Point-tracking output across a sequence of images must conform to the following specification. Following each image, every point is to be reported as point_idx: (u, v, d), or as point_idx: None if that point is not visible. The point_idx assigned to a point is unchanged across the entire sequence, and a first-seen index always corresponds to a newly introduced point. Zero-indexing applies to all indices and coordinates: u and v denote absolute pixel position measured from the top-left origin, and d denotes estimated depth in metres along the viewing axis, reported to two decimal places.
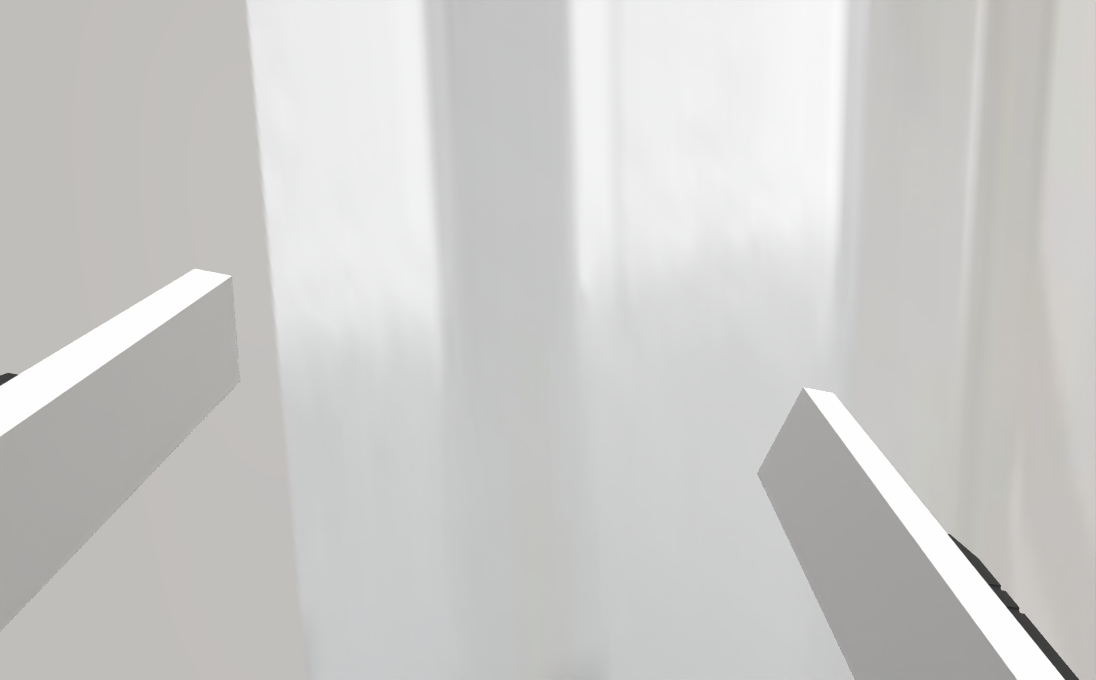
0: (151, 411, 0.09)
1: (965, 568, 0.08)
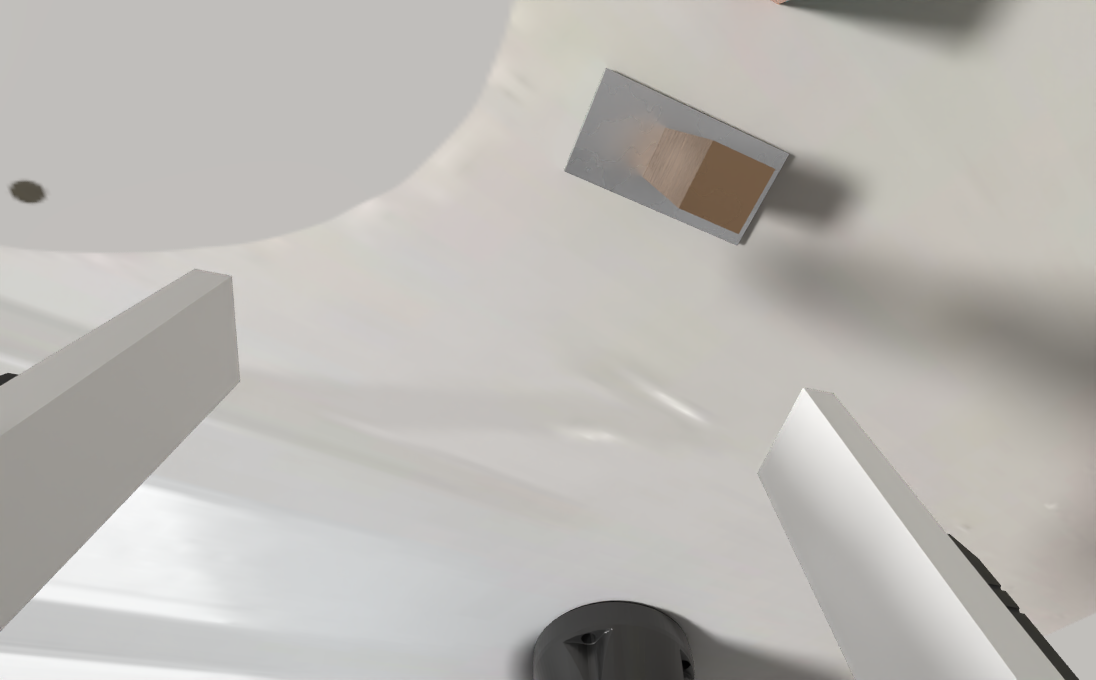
0: (151, 411, 0.09)
1: (965, 568, 0.08)
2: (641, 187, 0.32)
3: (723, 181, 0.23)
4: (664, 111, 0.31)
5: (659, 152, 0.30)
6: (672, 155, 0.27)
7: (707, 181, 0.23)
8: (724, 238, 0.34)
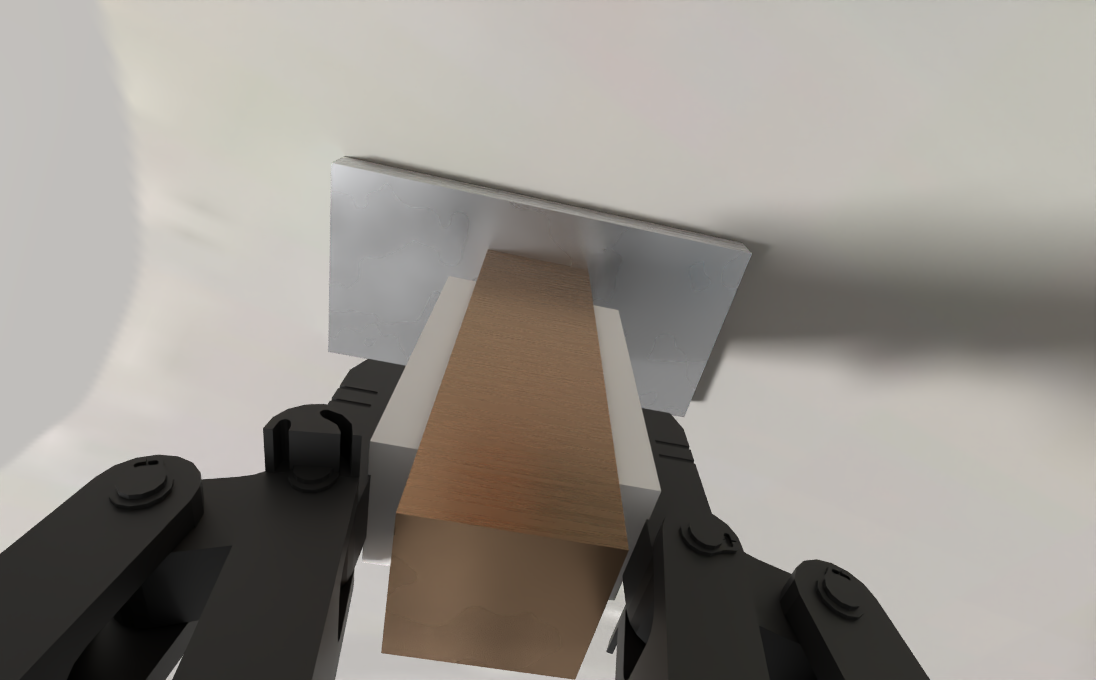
0: None
1: (634, 420, 0.10)
2: None
3: (479, 593, 0.07)
4: (476, 221, 0.15)
5: None
6: None
7: (431, 598, 0.07)
8: (657, 409, 0.18)
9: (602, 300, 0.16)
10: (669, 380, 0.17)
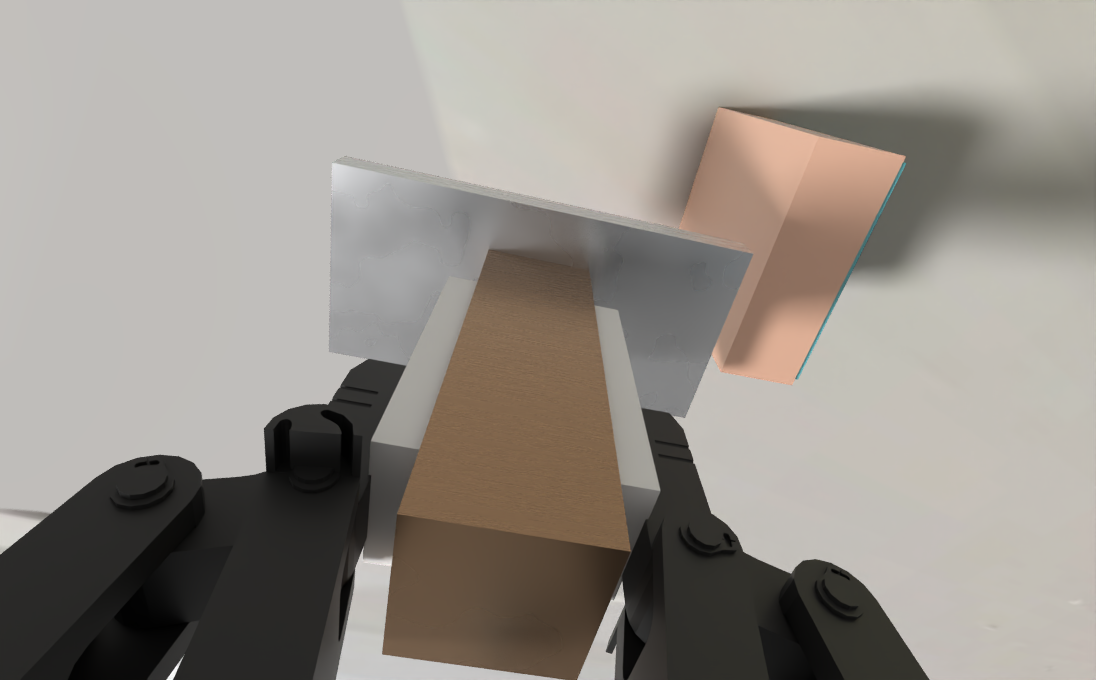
0: None
1: (634, 420, 0.10)
2: None
3: (480, 594, 0.07)
4: (477, 222, 0.15)
5: None
6: None
7: (432, 599, 0.07)
8: (658, 410, 0.18)
9: (603, 300, 0.16)
10: (670, 380, 0.17)
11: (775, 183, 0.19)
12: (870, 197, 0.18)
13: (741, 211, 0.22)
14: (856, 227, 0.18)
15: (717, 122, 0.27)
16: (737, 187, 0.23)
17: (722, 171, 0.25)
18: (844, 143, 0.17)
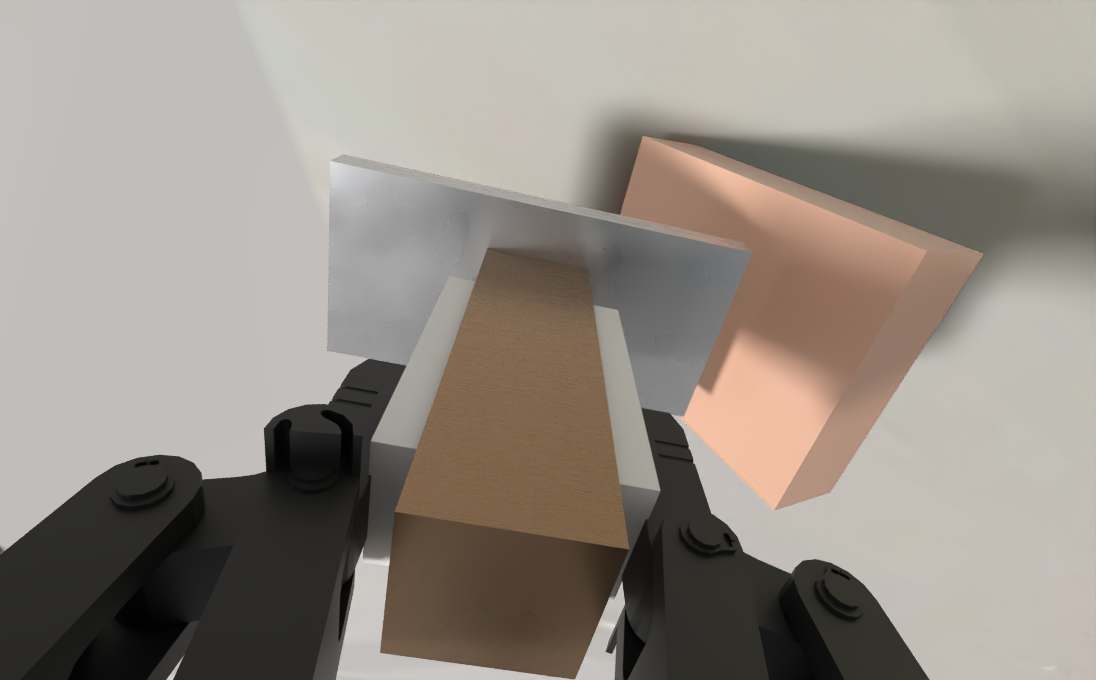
0: None
1: (634, 420, 0.10)
2: None
3: (478, 592, 0.07)
4: (476, 220, 0.15)
5: None
6: None
7: (430, 597, 0.07)
8: (657, 409, 0.18)
9: (602, 299, 0.16)
10: (668, 379, 0.17)
11: (830, 288, 0.15)
12: (944, 301, 0.15)
13: (753, 302, 0.17)
14: (925, 333, 0.15)
15: (646, 157, 0.22)
16: None
17: None
18: (944, 252, 0.13)
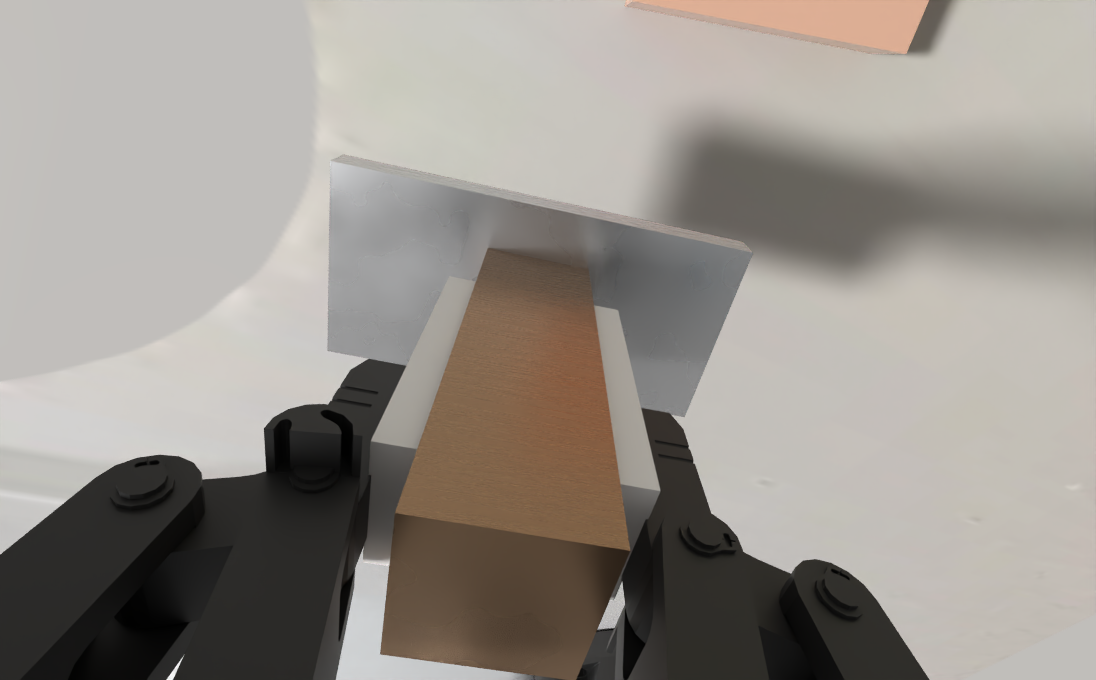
0: None
1: (634, 420, 0.10)
2: None
3: (479, 595, 0.07)
4: (476, 220, 0.15)
5: None
6: None
7: (430, 599, 0.07)
8: (657, 409, 0.18)
9: (602, 299, 0.16)
10: (669, 379, 0.17)
11: None
12: None
13: None
14: None
15: None
16: None
17: None
18: None
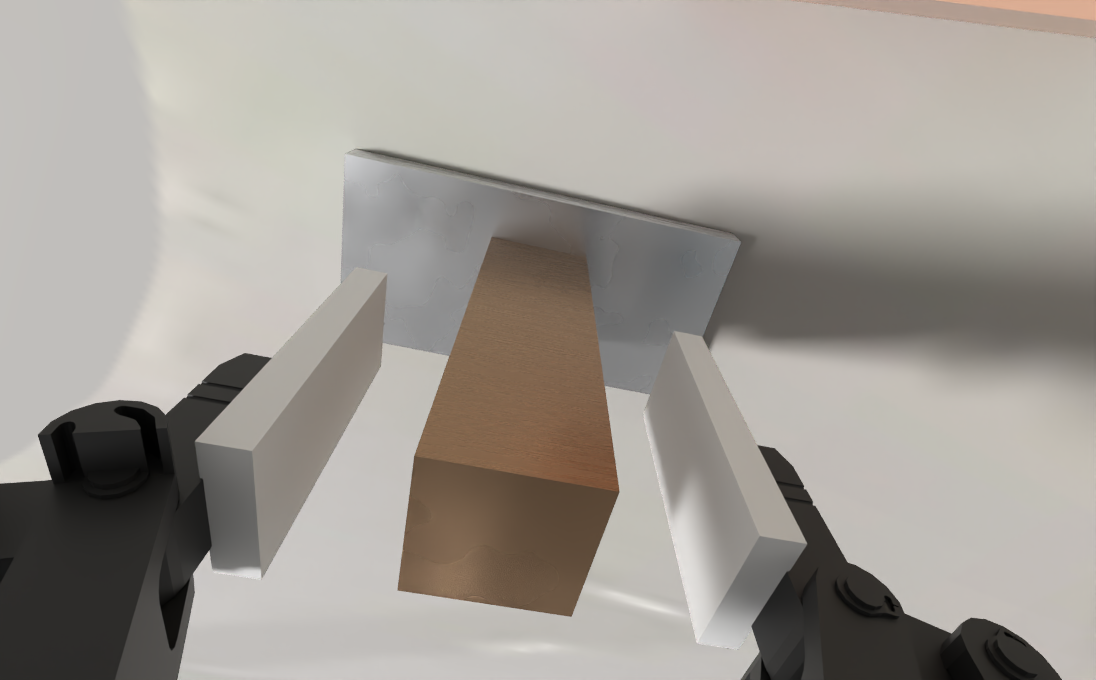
0: (344, 387, 0.11)
1: (756, 462, 0.09)
2: None
3: (486, 533, 0.08)
4: (481, 211, 0.16)
5: None
6: None
7: (443, 537, 0.08)
8: None
9: (599, 286, 0.17)
10: None
11: None
12: None
13: None
14: None
15: None
16: None
17: None
18: None
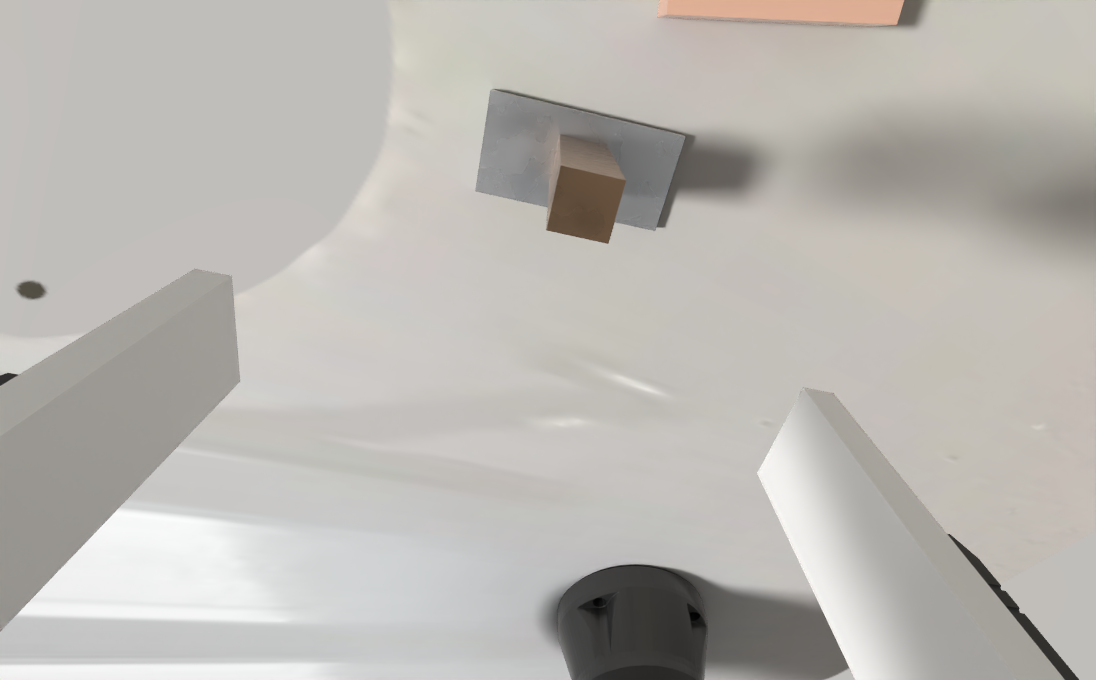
0: (151, 411, 0.09)
1: (965, 568, 0.08)
2: None
3: (580, 200, 0.24)
4: (555, 120, 0.32)
5: (554, 161, 0.31)
6: None
7: (565, 202, 0.24)
8: (641, 226, 0.35)
9: None
10: (647, 208, 0.34)
11: None
12: None
13: None
14: None
15: None
16: None
17: None
18: None
